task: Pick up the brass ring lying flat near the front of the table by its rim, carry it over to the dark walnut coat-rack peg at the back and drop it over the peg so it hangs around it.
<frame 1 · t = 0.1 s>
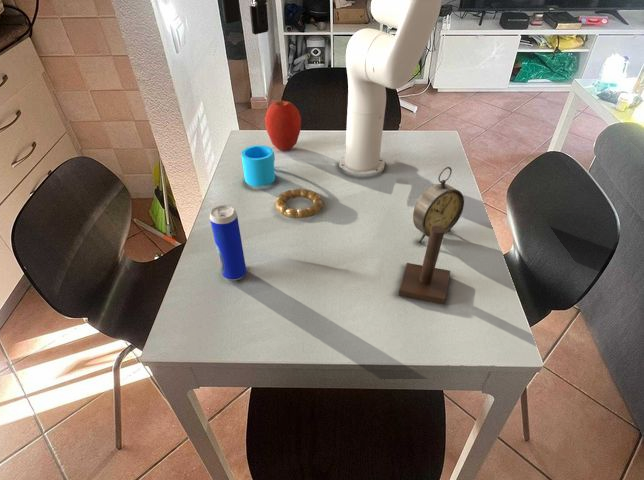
hand: (246, 27, 79), 37 cm above the table, tool pointing down, fingers open, 9 cm apart
apple: (284, 148, 128), on the table
beverage can: (234, 274, 91), on the table
rack: (423, 285, 87), on the table
ring: (299, 204, 106), point 1 cm above the table
alarm clock: (430, 235, 99), on the table
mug: (264, 179, 117), on the table
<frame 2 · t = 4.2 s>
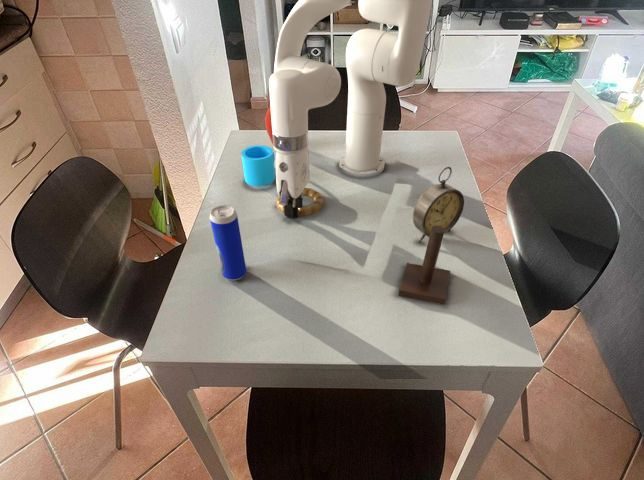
hand: (293, 215, 104), 0 cm above the table, tool pointing down, fingers closed on ring, 2 cm apart
ring: (299, 202, 106), point 1 cm above the table, touching gripper
everything else where it was.
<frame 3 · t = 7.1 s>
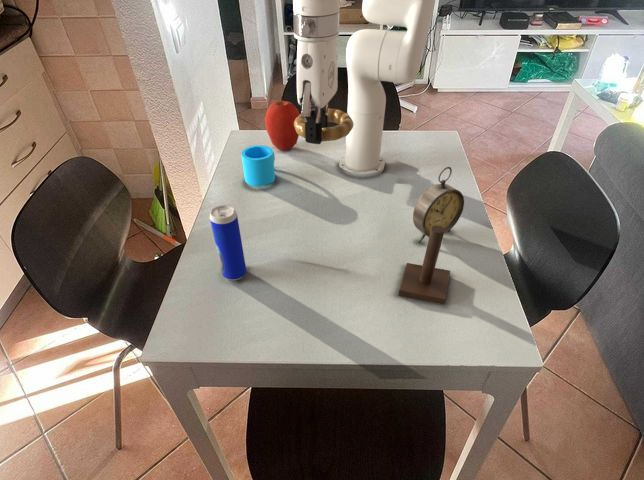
hand: (316, 138, 84), 21 cm above the table, tool pointing down, fingers closed on ring, 2 cm apart
ring: (323, 124, 86), point 22 cm above the table, touching gripper
everything else where it was.
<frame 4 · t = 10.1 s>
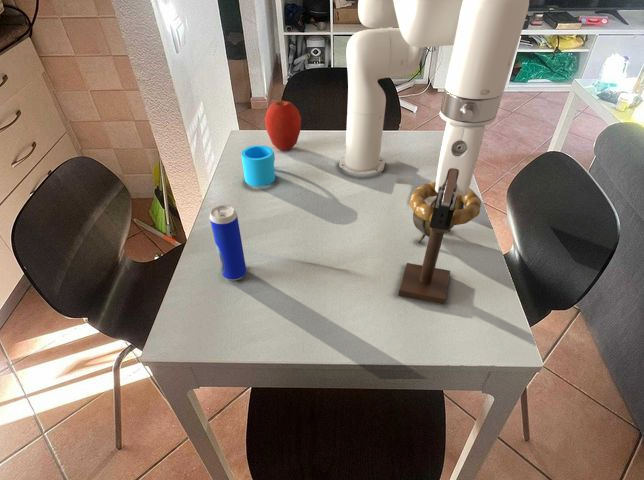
hand: (440, 221, 72), 17 cm above the table, tool pointing down, fingers closed on ring, 2 cm apart
ring: (444, 202, 74), point 18 cm above the table, touching gripper
everything else where it was.
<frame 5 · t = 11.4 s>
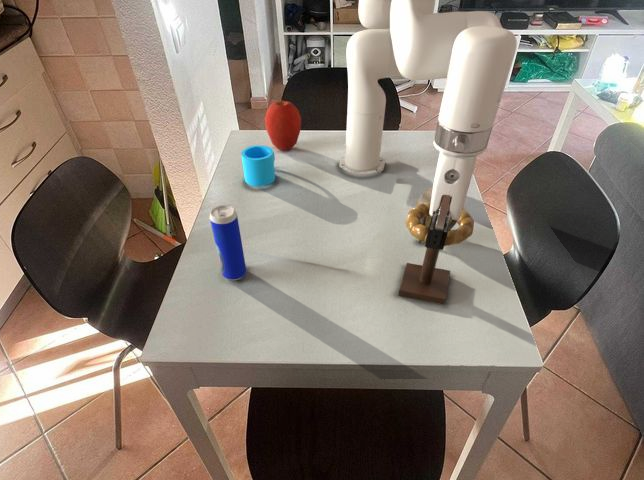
hand: (435, 241, 75), 13 cm above the table, tool pointing down, fingers closed on ring, 2 cm apart
ring: (439, 222, 77), point 14 cm above the table, touching gripper
everything else where it was.
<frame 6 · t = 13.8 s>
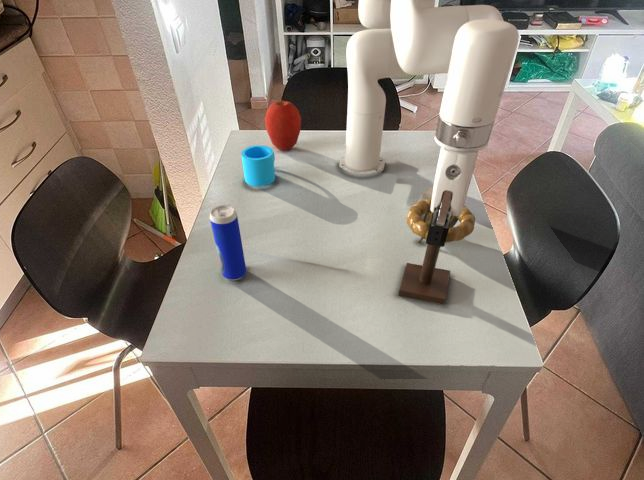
hand: (436, 238, 75), 14 cm above the table, tool pointing down, fingers closed on ring, 2 cm apart
ring: (440, 219, 77), point 15 cm above the table, touching gripper
everything else where it was.
when the fingers open (15 cm above the table, at t = 16.1 s): ring drops 13 cm, resting on rack.
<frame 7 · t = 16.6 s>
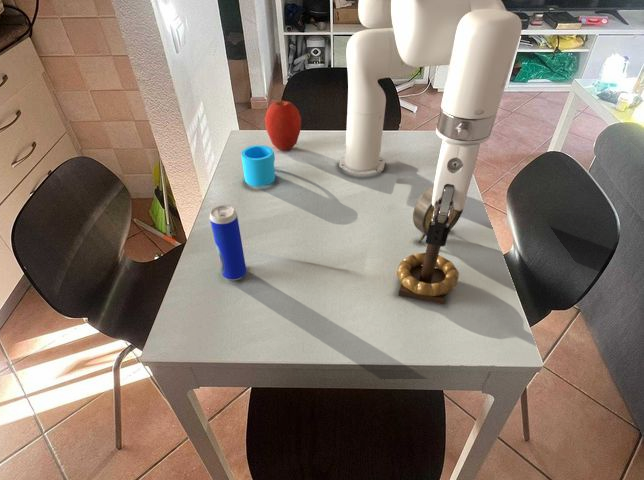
hand: (438, 228, 73), 16 cm above the table, tool pointing down, fingers open, 8 cm apart
ring: (427, 273, 86), point 3 cm above the table, touching rack
everything else where it was.
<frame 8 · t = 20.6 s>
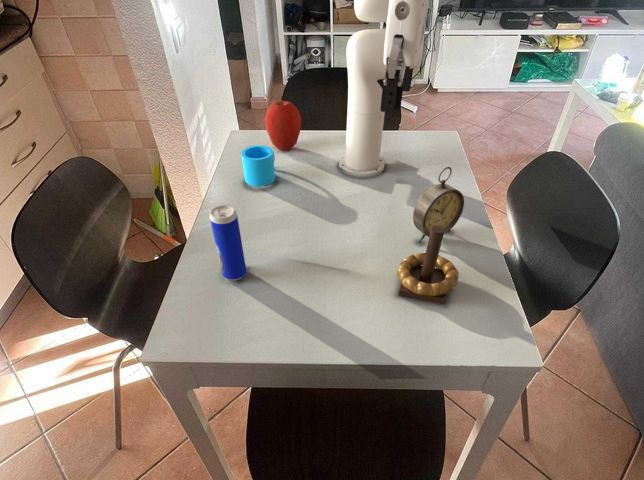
hand: (395, 100, 73), 30 cm above the table, tool pointing down, fingers open, 9 cm apart
nothing on the table moved.
at the end: ring 0.6 cm from the rack (horizontally); ring point 2.7 cm above the table; the gripper is holding nothing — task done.
